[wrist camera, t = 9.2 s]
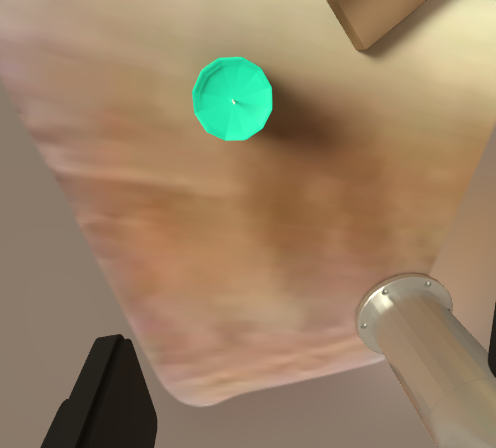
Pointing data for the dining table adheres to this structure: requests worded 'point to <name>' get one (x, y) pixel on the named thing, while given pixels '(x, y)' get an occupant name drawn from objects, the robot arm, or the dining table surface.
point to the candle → (232, 98)
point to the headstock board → (370, 18)
